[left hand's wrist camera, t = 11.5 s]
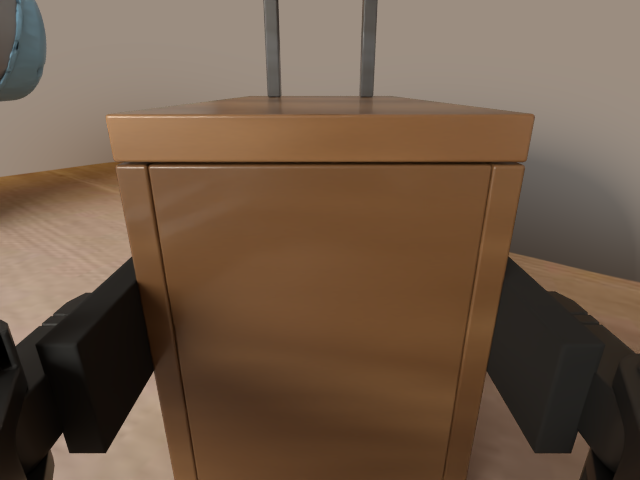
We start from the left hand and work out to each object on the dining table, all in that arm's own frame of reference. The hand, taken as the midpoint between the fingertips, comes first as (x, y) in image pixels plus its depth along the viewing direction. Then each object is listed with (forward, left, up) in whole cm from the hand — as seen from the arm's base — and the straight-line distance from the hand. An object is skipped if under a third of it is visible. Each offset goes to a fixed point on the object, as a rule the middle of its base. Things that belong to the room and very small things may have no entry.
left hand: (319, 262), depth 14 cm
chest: (+3, -3, -6) cm, 8 cm away
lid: (+4, -3, +4) cm, 6 cm away
